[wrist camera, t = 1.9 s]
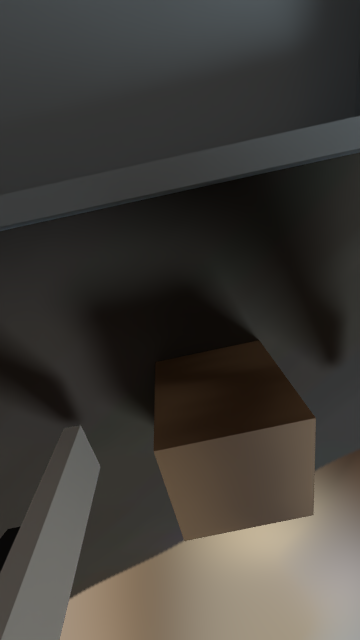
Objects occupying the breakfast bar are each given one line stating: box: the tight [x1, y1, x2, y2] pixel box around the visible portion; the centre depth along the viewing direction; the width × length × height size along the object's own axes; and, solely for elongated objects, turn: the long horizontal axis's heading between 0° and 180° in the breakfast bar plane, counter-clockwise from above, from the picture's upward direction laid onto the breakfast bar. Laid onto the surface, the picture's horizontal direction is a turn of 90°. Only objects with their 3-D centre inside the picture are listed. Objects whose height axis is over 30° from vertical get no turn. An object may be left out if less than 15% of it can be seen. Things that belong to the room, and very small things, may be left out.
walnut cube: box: [154, 340, 316, 541], centre depth 11 cm, size 5×5×5 cm
